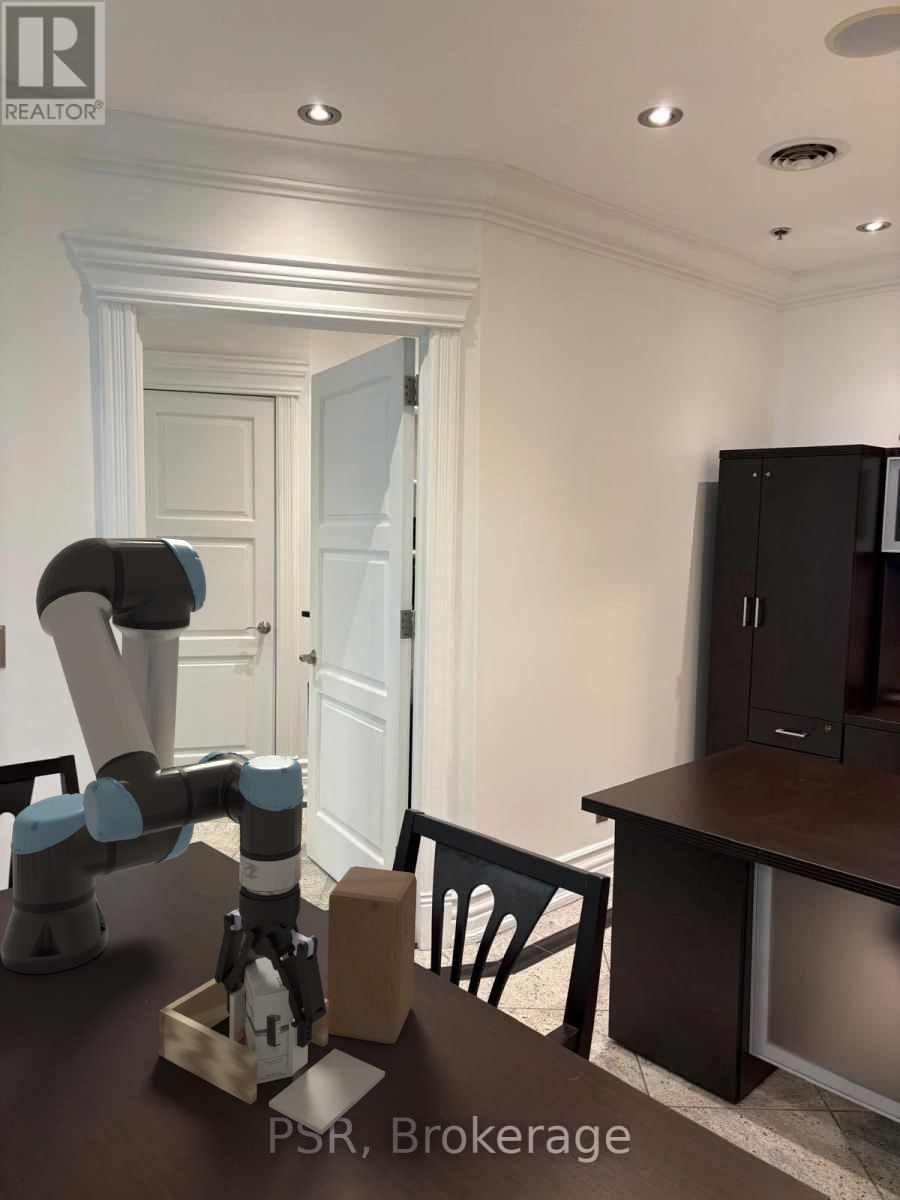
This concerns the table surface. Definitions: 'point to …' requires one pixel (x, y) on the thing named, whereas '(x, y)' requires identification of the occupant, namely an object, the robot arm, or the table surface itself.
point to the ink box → (267, 1020)
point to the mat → (327, 1090)
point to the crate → (214, 1041)
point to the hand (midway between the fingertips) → (267, 1052)
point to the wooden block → (371, 953)
